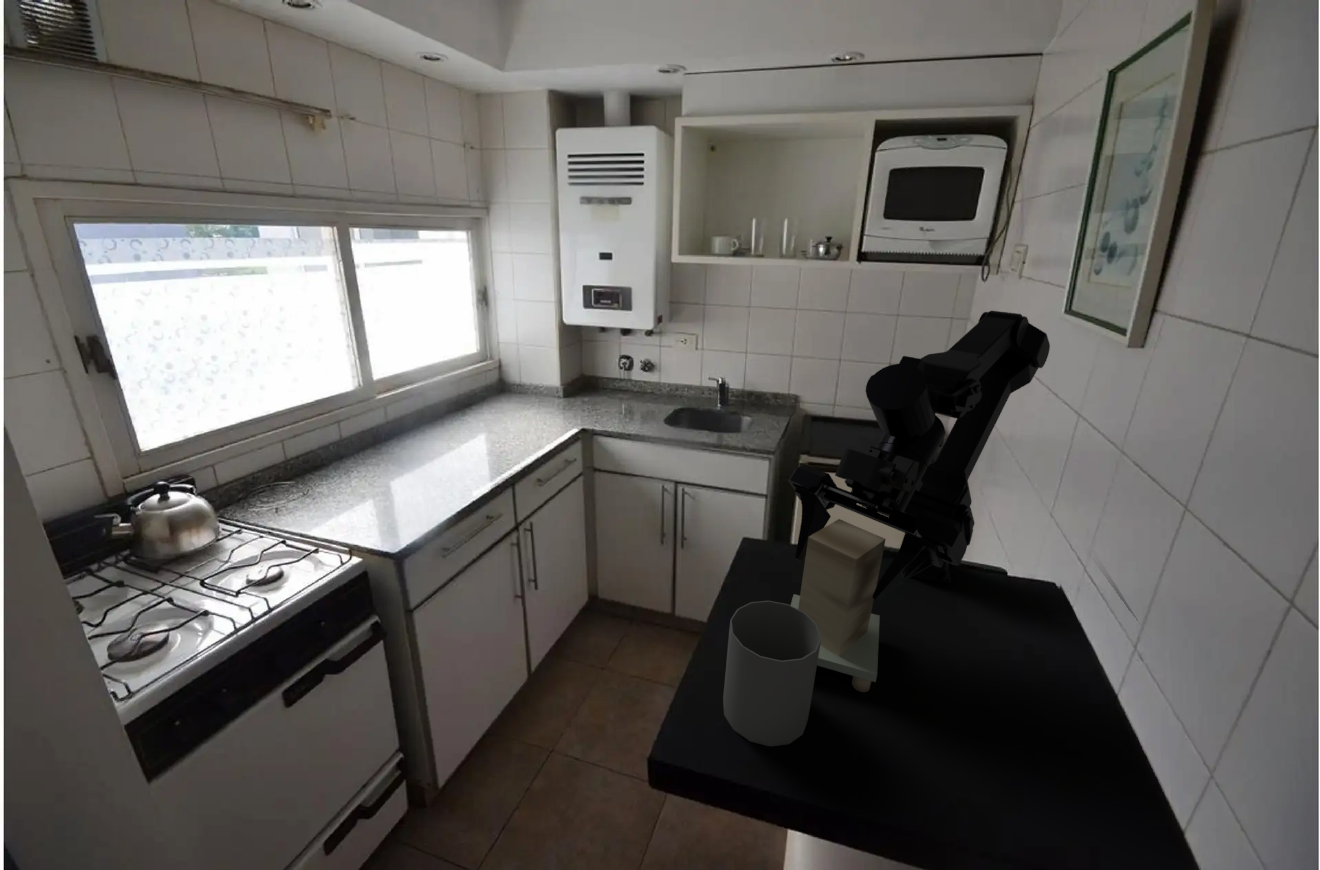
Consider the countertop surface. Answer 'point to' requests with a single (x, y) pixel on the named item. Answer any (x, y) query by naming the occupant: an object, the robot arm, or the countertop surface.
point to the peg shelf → (854, 655)
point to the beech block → (840, 582)
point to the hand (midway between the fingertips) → (834, 578)
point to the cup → (770, 672)
